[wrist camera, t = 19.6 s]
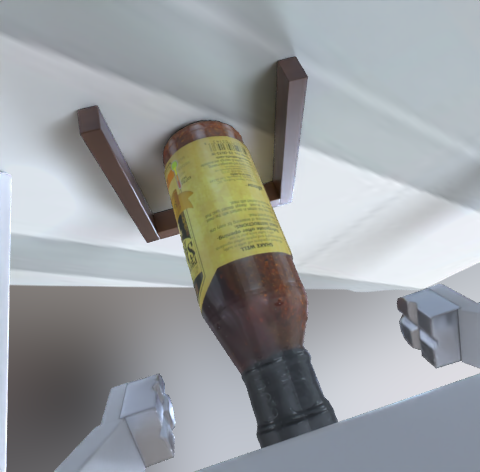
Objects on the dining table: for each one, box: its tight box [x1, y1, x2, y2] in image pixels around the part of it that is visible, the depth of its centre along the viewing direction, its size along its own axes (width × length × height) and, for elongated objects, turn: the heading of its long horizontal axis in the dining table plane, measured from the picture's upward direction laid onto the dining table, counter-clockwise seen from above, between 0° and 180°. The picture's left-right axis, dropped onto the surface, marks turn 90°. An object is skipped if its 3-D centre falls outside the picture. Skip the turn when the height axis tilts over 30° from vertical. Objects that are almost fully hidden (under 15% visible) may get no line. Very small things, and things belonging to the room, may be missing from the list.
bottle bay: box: [78, 57, 308, 243], centre depth 27 cm, size 13×13×2 cm
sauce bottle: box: [163, 120, 338, 449], centre depth 22 cm, size 7×6×20 cm
